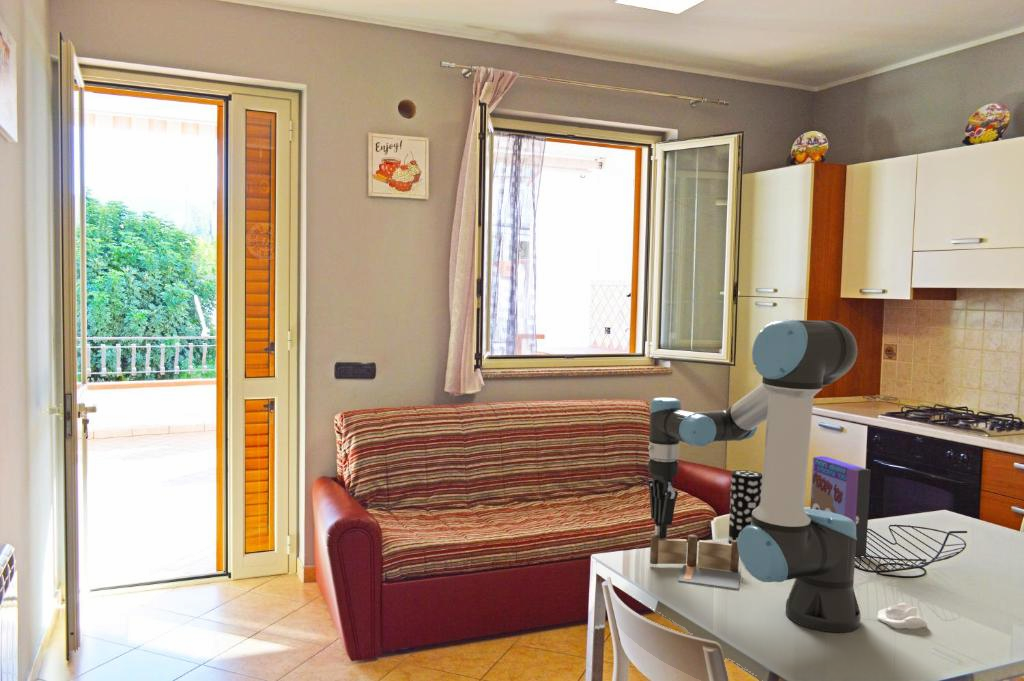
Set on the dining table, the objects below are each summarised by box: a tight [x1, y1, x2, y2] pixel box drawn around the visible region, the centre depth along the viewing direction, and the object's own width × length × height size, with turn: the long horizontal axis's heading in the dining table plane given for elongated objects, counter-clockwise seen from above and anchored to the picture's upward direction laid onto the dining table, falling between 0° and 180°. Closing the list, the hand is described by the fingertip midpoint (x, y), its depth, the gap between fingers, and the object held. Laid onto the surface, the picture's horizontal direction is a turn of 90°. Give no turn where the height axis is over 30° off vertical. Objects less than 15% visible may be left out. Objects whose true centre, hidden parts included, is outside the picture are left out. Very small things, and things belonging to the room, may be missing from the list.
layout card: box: [677, 561, 742, 591], centre depth 196 cm, size 14×14×1 cm
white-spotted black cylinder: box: [728, 469, 763, 544], centre depth 222 cm, size 8×8×20 cm
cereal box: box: [809, 455, 872, 558], centre depth 221 cm, size 17×5×24 cm, turn 17°
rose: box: [876, 602, 928, 629], centre depth 171 cm, size 10×4×10 cm
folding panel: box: [649, 534, 688, 565], centre depth 201 cm, size 9×2×7 cm, turn 94°
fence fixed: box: [686, 534, 740, 572], centre depth 200 cm, size 13×2×8 cm, turn 72°
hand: (660, 549), depth 203 cm, fingers closed
